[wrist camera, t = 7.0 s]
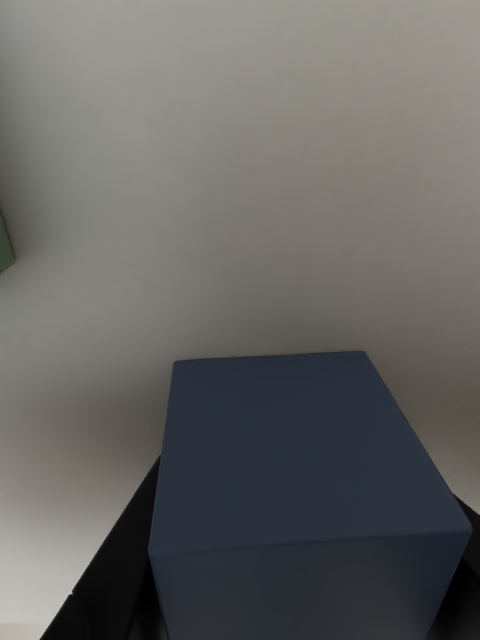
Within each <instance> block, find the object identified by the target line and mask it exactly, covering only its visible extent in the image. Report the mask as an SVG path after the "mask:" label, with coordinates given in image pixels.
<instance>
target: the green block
mask: <svg viewBox="0 0 480 640" xmlns="http://www.w3.org/2000/svg"><path fill="white" fill-rule="evenodd" d="M14 260H15V259H14V256H13V253H12V249H11V246H10V243H9V239H8V236H7V233H6V230H5V226H4V223H3V220H2V216H1V213H0V274H1V273H2V272H4V271H5V270H6V269H7V268H8V267H10V266H11V265H12V264H13V263H14Z"/></svg>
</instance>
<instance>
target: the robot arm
mask: <svg viewBox="0 0 480 640" xmlns="http://www.w3.org/2000/svg"><path fill="white" fill-rule="evenodd" d="M160 460H161V455H159V457H158V458H157V460H156V461H155V463H154V465H153V466H152V468H151V469H150V471H149V472H148V474H147V475H146V477H145V478H144V480H143V482H142V483H141V485H140V486H139V488H138V489H137V491H136V492H135V494H134V496H133V497H132V499H131V500H130V502H129V503H128V505H127V506H126V508H125V509H124V511H123V513H122V514H121V516H120V517H119V519H118V520H117V522H116V523H115V525H114V526H113V528H112V530H111V531H110V533H109V534H108V536H107V537H106V539H105V540H104V542H103V544H102V545H101V547H100V548H99V550H98V551H97V553H96V554H95V556H94V557H93V559H92V561H91V562H90V564H89V565H88V567H87V568H86V570H85V571H84V573H83V575H82V576H81V578H80V579H79V581H78V582H77V584H76V585H75V587H74V588H73V590H72V594H73V595H72V594H70V595H69V596H68V597H67V599H66V601H65V602H64V604H63V605H62V607H61V608H60V610H59V611H58V613H57V615H56V616H55V617H54V619H53V620H52V622H51V623H50V625H49V626H48V628H47V629H46V631H45V632H44V634H43V635H42V637H41V638H40V640H167V636H166V632H165V627H164V623H163V618H162V613H161V609H160V604H159V600H158V595H157V590H156V586H155V581H154V577H153V572H152V568H151V563H150V558H149V554H148V548H149V541H150V533H151V526H152V519H153V511H154V504H155V497H156V489H157V482H158V474H159V467H160ZM452 494H453V493H452ZM453 495H454V494H453ZM454 497H455V499H456V500H457V502H458V503H459V505H460V507H461V508H462V510H463V512H464V513H465V515H466V516H467V518H468V520H469V521H470V523H471V525H472V529H473V531H472V534H471V536H470V538H469V541H468V543H467V545H466V548H465V550H464V552H463V555H462V557H461V559H460V562H459V564H458V567H457V569H456V571H455V574H454V576H453V578H452V581H451V583H450V585H449V588H448V590H447V592H446V595H445V597H444V599H443V602H442V604H441V606H440V609H439V611H438V613H437V616H436V618H435V621H434V623H433V625H432V628H431V630H430V632H429V635H428V637H427V639H426V640H480V515H479V514H477V513H476V512H475V511H474V510H473V509H471V508H470V507H469V506H468V505H466V504H465V503H464V502H463V501H462V500H460V499H459V498H458V497H457V496H456V495H454Z"/></svg>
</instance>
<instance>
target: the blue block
mask: <svg viewBox="0 0 480 640" xmlns="http://www.w3.org/2000/svg"><path fill="white" fill-rule="evenodd" d="M472 531H473V529H472V525H471V523H470V521H469V520H468V518H467V516H466V515H465V513H464V512H463V510H462V508H461V507H460V505H459V503H458V502H457V500H456V499H455V497H454V495H453V494H452V492H451V491H450V489H449V487H448V486H447V484H446V482H445V481H444V479H443V478H442V476H441V474H440V473H439V471H438V469H437V468H436V466H435V465H434V463H433V461H432V460H431V458H430V456H429V455H428V453H427V452H426V450H425V448H424V447H423V445H422V444H421V442H420V440H419V439H418V437H417V435H416V434H415V432H414V431H413V429H412V427H411V426H410V424H409V422H408V421H407V419H406V418H405V416H404V414H403V413H402V411H401V409H400V408H399V406H398V405H397V403H396V401H395V400H394V398H393V396H392V395H391V393H390V392H389V390H388V388H387V387H386V385H385V384H384V382H383V380H382V379H381V377H380V375H379V374H378V372H377V371H376V369H375V367H374V366H373V364H372V362H371V361H370V359H369V358H368V356H367V354H366V353H365V352H363V351H357V352H338V353H319V354H300V355H281V356H262V357H244V358H225V359H206V360H187V361H176V362H174V364H173V371H172V379H171V386H170V393H169V401H168V408H167V416H166V423H165V430H164V438H163V445H162V452H161V460H160V467H159V474H158V482H157V489H156V497H155V504H154V511H153V519H152V526H151V533H150V541H149V548H148V554H149V558H150V563H151V568H152V572H153V577H154V581H155V586H156V590H157V595H158V600H159V604H160V609H161V613H162V618H163V623H164V627H165V632H166V636H167V640H426V639H427V637H428V635H429V632H430V630H431V628H432V625H433V623H434V621H435V618H436V616H437V613H438V611H439V609H440V606H441V604H442V602H443V599H444V597H445V595H446V592H447V590H448V588H449V585H450V583H451V581H452V578H453V576H454V574H455V571H456V569H457V567H458V564H459V562H460V559H461V557H462V555H463V552H464V550H465V548H466V545H467V543H468V541H469V538H470V536H471V534H472Z"/></svg>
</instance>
